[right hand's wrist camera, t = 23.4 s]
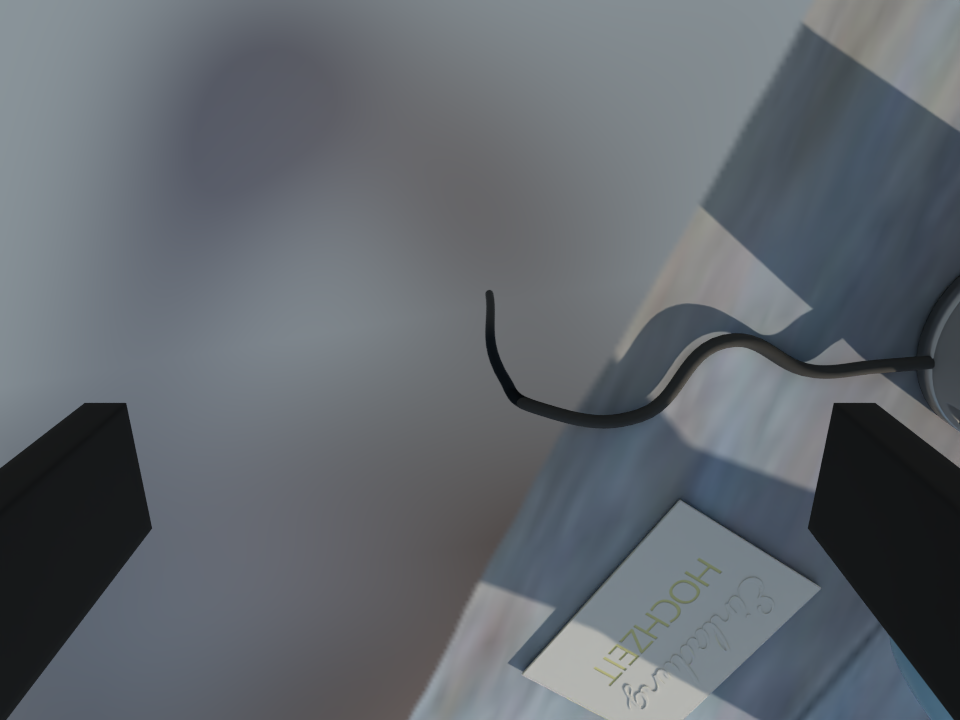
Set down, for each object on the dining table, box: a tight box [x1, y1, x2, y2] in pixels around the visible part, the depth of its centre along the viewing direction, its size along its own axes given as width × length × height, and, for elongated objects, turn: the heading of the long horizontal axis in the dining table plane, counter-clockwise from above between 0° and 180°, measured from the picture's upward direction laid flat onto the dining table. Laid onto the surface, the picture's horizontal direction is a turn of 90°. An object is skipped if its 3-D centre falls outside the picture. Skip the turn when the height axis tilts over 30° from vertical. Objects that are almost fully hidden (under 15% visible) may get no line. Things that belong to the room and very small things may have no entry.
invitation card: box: [522, 500, 821, 720], centre depth 57 cm, size 21×1×15 cm
